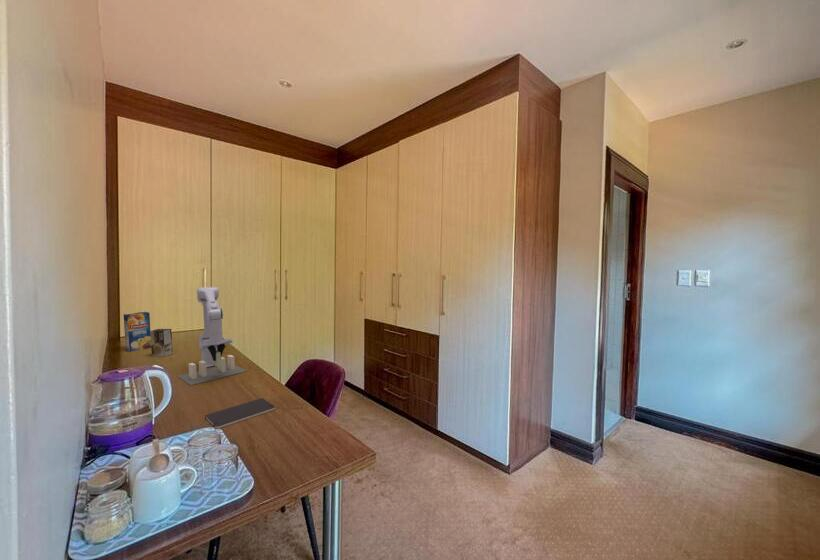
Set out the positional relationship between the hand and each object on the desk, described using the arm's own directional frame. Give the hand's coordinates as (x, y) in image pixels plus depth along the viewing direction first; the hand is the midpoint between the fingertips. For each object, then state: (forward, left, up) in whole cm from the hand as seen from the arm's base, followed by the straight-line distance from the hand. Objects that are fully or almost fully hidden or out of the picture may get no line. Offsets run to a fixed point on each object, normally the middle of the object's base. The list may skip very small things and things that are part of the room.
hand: (216, 359), depth 168 cm
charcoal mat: (-8, 0, -9) cm, 12 cm away
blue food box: (-102, -13, -9) cm, 103 cm away
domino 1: (-8, -9, -9) cm, 15 cm away
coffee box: (-71, -7, -9) cm, 72 cm away
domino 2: (-8, -4, -9) cm, 12 cm away
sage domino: (0, 0, -3) cm, 3 cm away
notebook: (+50, -9, -10) cm, 52 cm away
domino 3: (-8, +5, -9) cm, 13 cm away
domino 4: (-8, +9, -9) cm, 15 cm away
